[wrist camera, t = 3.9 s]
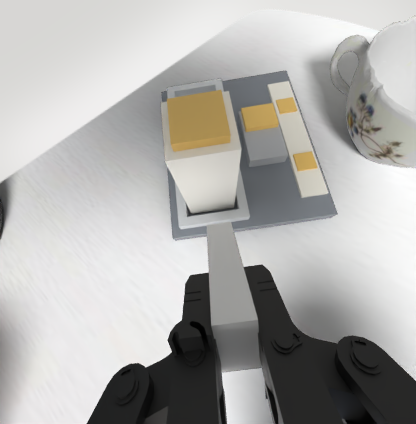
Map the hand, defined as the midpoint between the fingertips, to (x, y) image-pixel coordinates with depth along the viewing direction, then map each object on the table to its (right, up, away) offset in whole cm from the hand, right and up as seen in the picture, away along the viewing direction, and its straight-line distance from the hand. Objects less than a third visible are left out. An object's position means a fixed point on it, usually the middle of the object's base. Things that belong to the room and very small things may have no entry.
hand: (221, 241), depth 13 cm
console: (+2, +9, +9) cm, 13 cm away
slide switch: (-1, +4, +7) cm, 8 cm away
